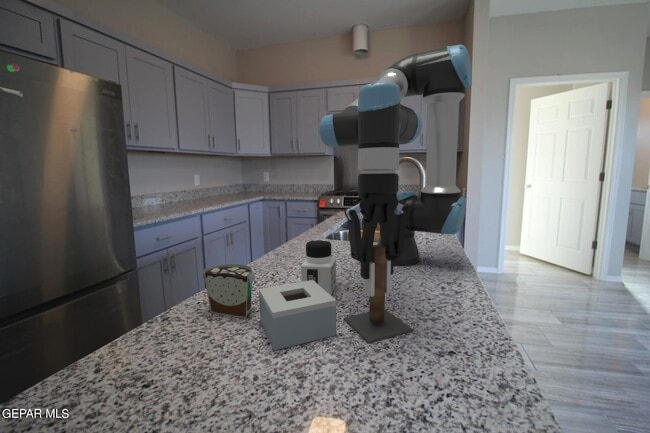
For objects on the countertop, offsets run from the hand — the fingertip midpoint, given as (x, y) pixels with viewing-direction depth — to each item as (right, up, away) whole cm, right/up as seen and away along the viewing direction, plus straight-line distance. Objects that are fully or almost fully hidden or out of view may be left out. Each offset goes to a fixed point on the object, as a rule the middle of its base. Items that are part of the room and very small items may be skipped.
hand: (377, 292), depth 62 cm
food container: (-30, -7, +9) cm, 32 cm away
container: (-12, -4, +20) cm, 24 cm away
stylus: (0, -6, +1) cm, 6 cm away
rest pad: (0, -7, +1) cm, 7 cm away
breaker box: (-16, -7, +1) cm, 18 cm away
